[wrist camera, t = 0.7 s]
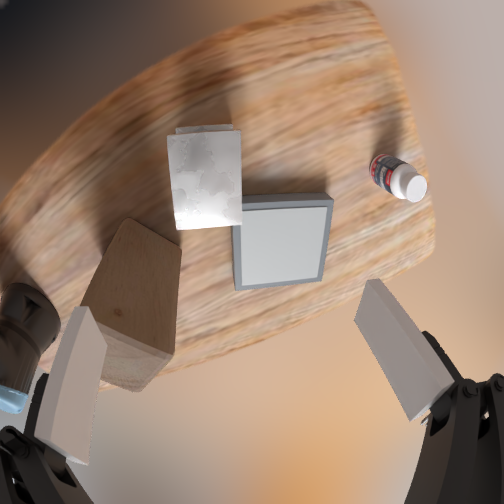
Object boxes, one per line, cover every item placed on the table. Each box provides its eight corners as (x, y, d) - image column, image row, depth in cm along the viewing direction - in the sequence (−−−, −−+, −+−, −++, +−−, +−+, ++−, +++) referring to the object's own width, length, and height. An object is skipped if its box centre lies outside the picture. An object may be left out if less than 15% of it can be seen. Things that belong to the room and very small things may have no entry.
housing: (182, 199, 36) (176, 230, 28) (176, 127, 31) (166, 136, 23) (233, 195, 37) (242, 224, 29) (231, 123, 32) (240, 130, 24)
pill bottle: (366, 158, 37) (401, 175, 29) (392, 149, 36) (429, 165, 29) (371, 189, 39) (404, 211, 32) (396, 179, 39) (430, 199, 32)
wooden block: (127, 212, 35) (77, 311, 18) (185, 246, 40) (178, 358, 23) (101, 262, 38) (59, 364, 22) (154, 290, 43) (139, 397, 26)
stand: (233, 279, 44) (235, 291, 41) (229, 196, 37) (232, 204, 34) (315, 270, 46) (321, 281, 43) (325, 192, 39) (334, 200, 36)
